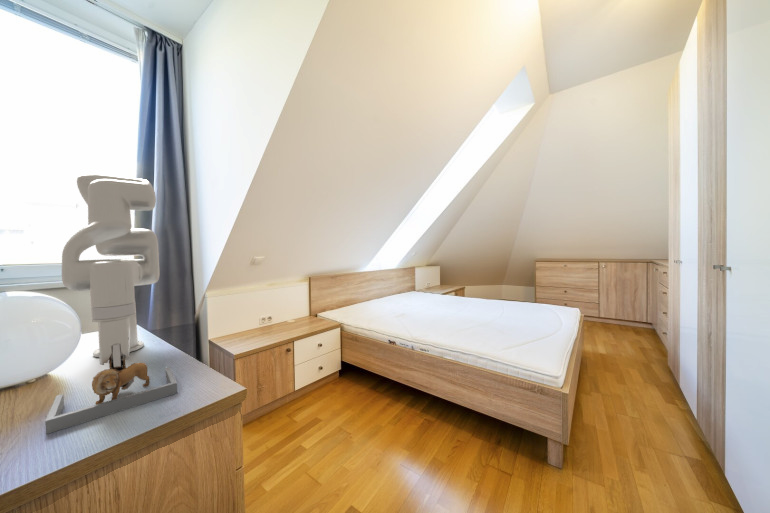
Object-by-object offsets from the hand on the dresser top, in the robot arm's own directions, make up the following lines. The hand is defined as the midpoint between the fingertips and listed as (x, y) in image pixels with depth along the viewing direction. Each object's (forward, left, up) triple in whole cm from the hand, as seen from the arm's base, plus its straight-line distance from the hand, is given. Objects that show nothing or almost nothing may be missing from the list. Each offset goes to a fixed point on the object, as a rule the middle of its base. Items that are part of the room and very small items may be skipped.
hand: (119, 386), depth 67 cm
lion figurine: (+4, 0, -1) cm, 5 cm away
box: (+4, 0, -2) cm, 4 cm away
